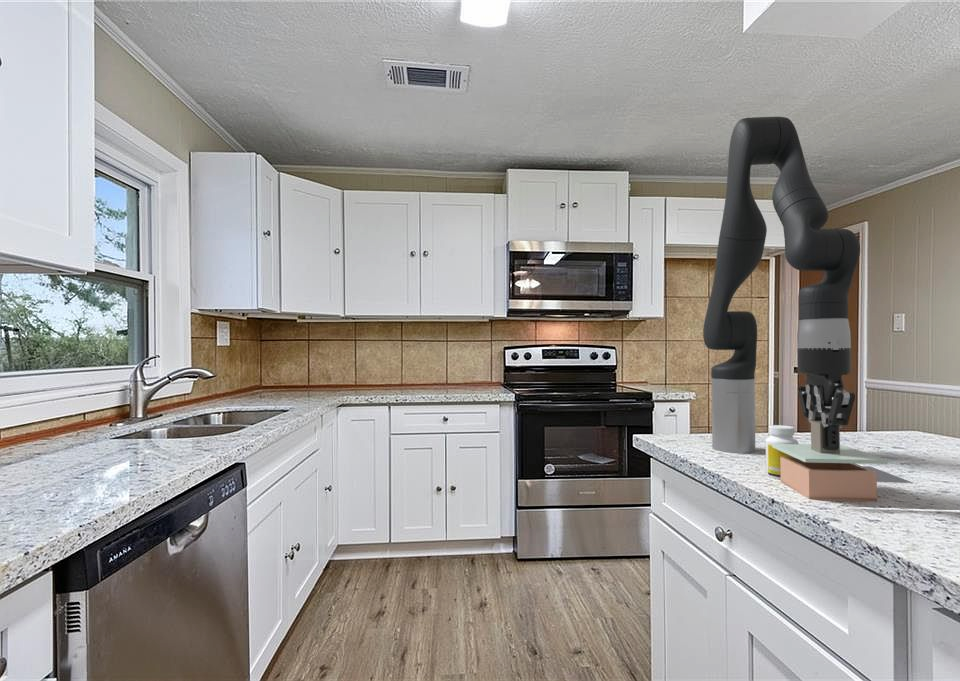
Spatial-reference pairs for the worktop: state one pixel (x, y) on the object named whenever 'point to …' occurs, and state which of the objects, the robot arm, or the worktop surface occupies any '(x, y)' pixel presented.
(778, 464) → the supplement bottle
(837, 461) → the lid
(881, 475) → the mat
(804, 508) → the worktop surface
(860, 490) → the dish
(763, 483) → the worktop surface
